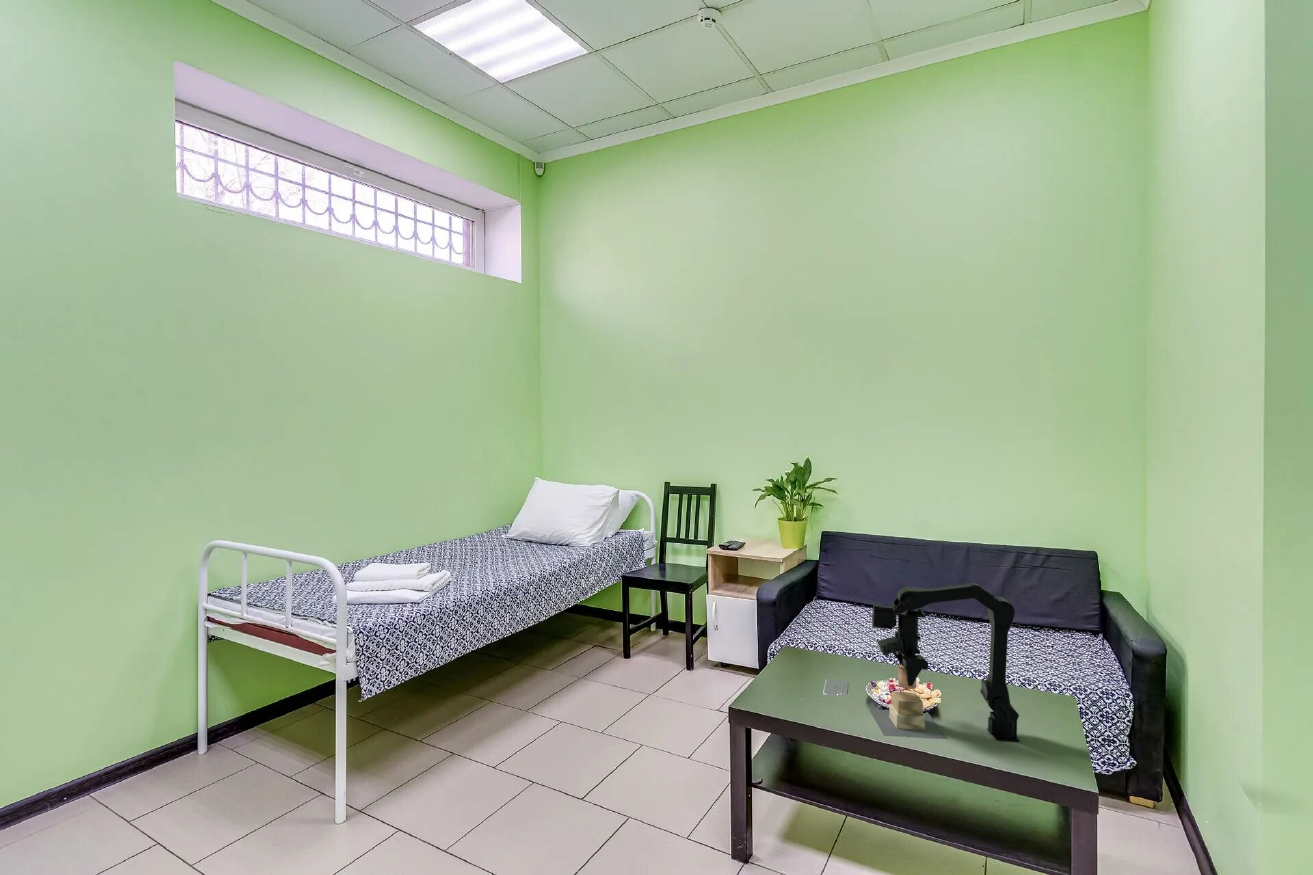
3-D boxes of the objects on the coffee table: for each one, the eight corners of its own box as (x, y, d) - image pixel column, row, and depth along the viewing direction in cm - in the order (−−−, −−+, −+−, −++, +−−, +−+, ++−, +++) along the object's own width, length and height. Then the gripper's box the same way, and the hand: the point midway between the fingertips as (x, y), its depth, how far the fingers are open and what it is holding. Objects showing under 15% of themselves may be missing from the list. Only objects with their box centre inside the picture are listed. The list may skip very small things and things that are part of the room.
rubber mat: (927, 713, 196) (927, 712, 196) (948, 740, 178) (948, 738, 178) (868, 710, 198) (868, 708, 198) (883, 736, 180) (883, 735, 180)
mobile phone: (848, 680, 221) (846, 696, 207) (848, 682, 221) (846, 699, 207) (825, 677, 224) (822, 692, 210) (825, 679, 224) (822, 695, 210)
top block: (915, 705, 191) (915, 692, 191) (922, 715, 184) (922, 701, 184) (891, 704, 192) (891, 691, 192) (898, 714, 185) (898, 700, 185)
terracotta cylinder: (913, 682, 190) (913, 664, 190) (918, 689, 185) (918, 670, 185) (896, 682, 191) (896, 664, 191) (901, 688, 186) (901, 669, 186)
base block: (916, 718, 192) (916, 705, 192) (924, 729, 184) (925, 716, 184) (889, 716, 192) (889, 703, 192) (896, 728, 184) (896, 714, 184)
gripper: (872, 620, 198) (872, 669, 198) (889, 638, 180) (888, 693, 180) (909, 622, 197) (908, 671, 197) (929, 640, 179) (928, 695, 178)
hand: (907, 682), depth 188 cm, fingers closed on terracotta cylinder, 5 cm apart
